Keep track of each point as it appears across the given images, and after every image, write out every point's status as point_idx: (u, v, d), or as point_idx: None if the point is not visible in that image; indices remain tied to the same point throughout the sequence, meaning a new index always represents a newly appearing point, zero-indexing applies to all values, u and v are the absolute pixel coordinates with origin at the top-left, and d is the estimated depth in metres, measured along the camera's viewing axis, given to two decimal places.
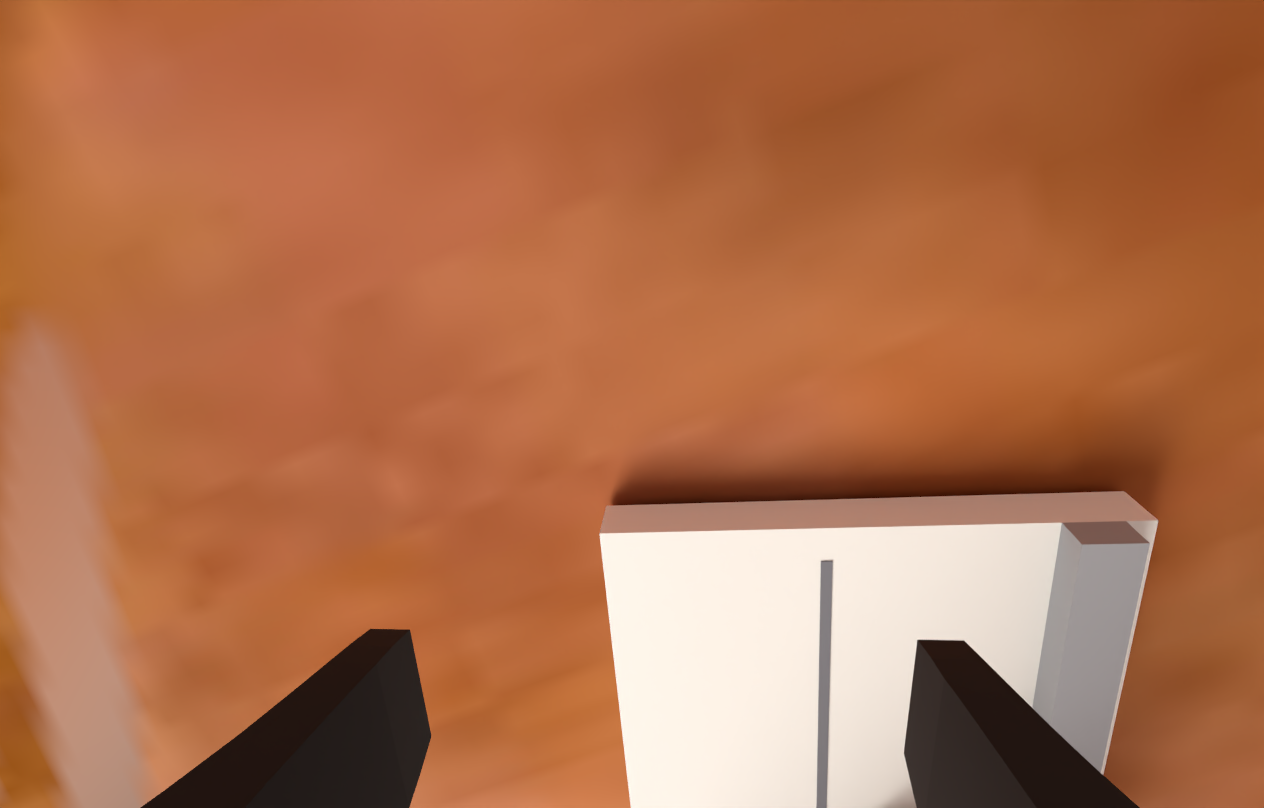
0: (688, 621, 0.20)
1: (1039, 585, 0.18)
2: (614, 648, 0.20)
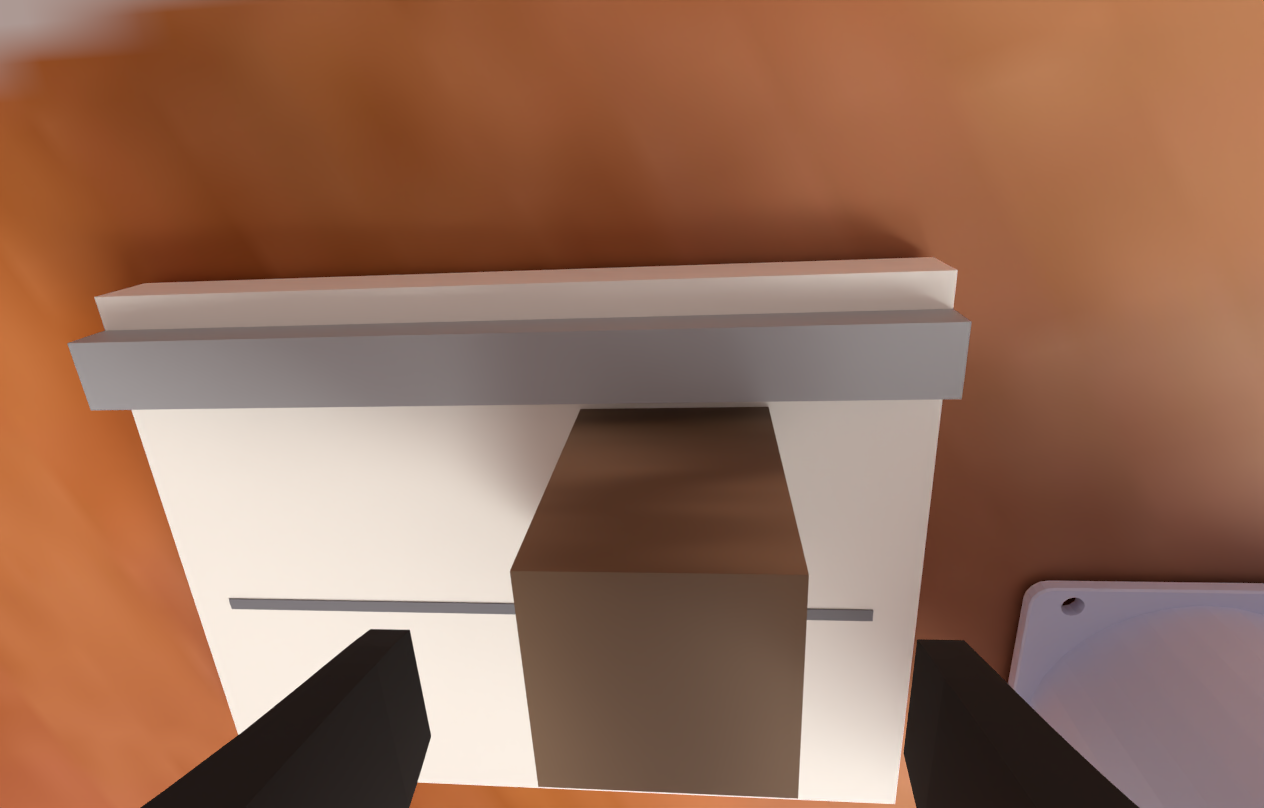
0: None
1: None
2: None
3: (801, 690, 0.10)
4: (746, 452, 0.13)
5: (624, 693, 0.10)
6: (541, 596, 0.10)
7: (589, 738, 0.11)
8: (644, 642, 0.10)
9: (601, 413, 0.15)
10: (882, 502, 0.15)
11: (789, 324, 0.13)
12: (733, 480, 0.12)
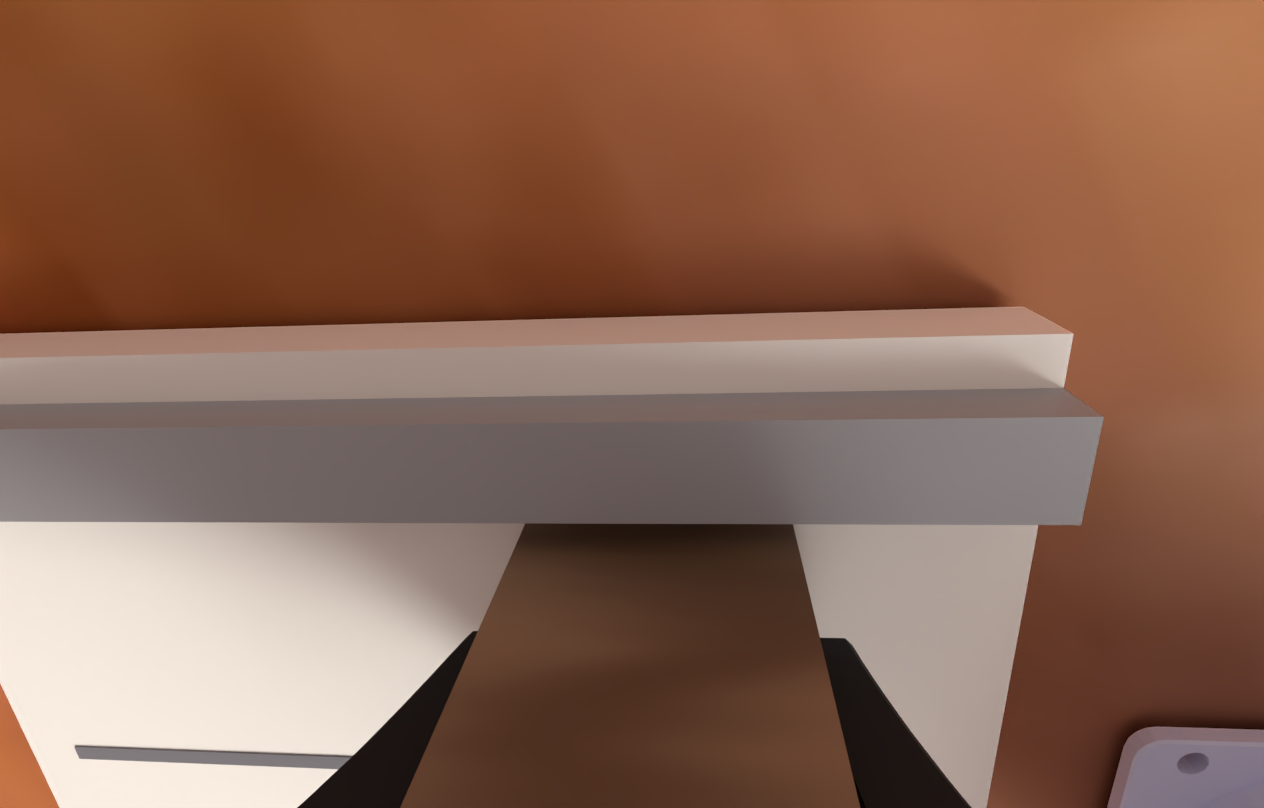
0: None
1: None
2: None
3: None
4: (765, 615, 0.08)
5: None
6: None
7: None
8: None
9: (556, 527, 0.10)
10: (948, 645, 0.11)
11: (827, 416, 0.09)
12: (747, 681, 0.07)
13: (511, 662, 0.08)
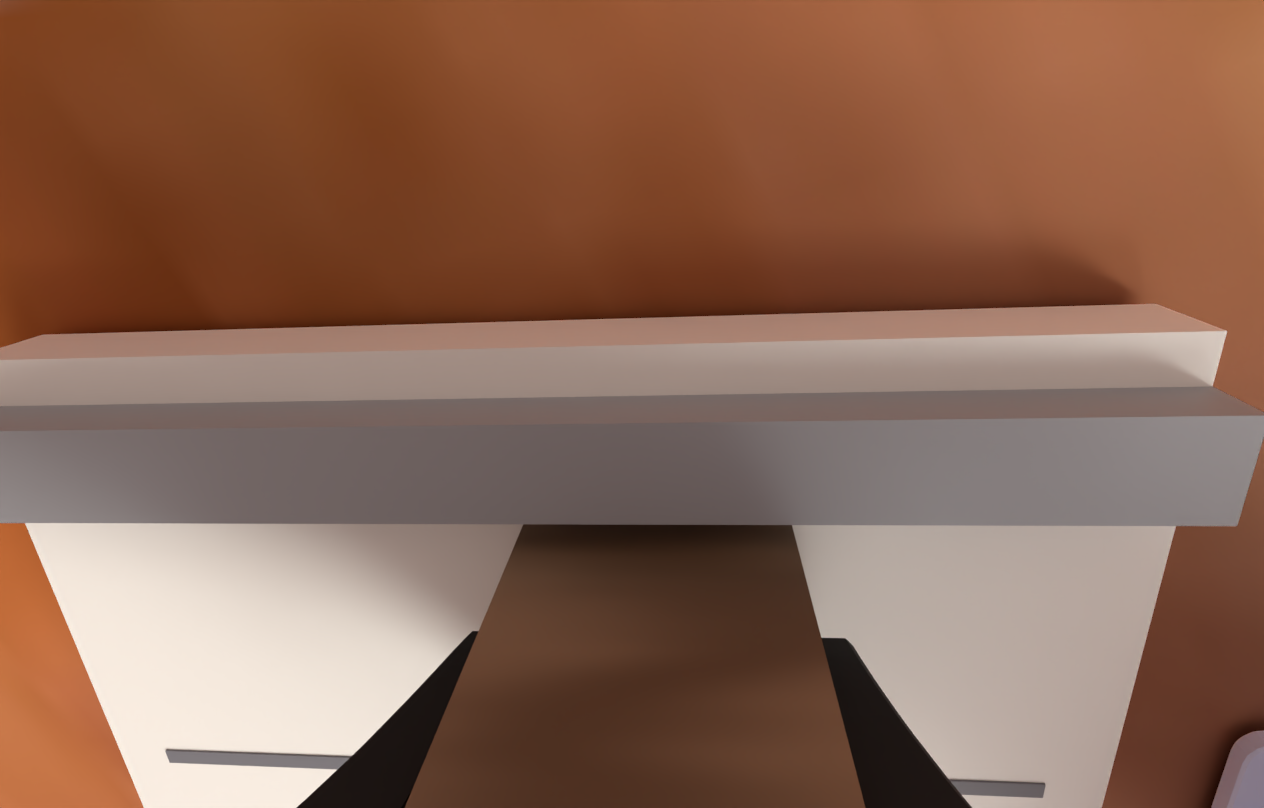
0: None
1: None
2: None
3: None
4: (766, 616, 0.08)
5: None
6: None
7: None
8: None
9: (554, 529, 0.10)
10: (1073, 648, 0.11)
11: (979, 415, 0.09)
12: (749, 683, 0.07)
13: (511, 666, 0.08)
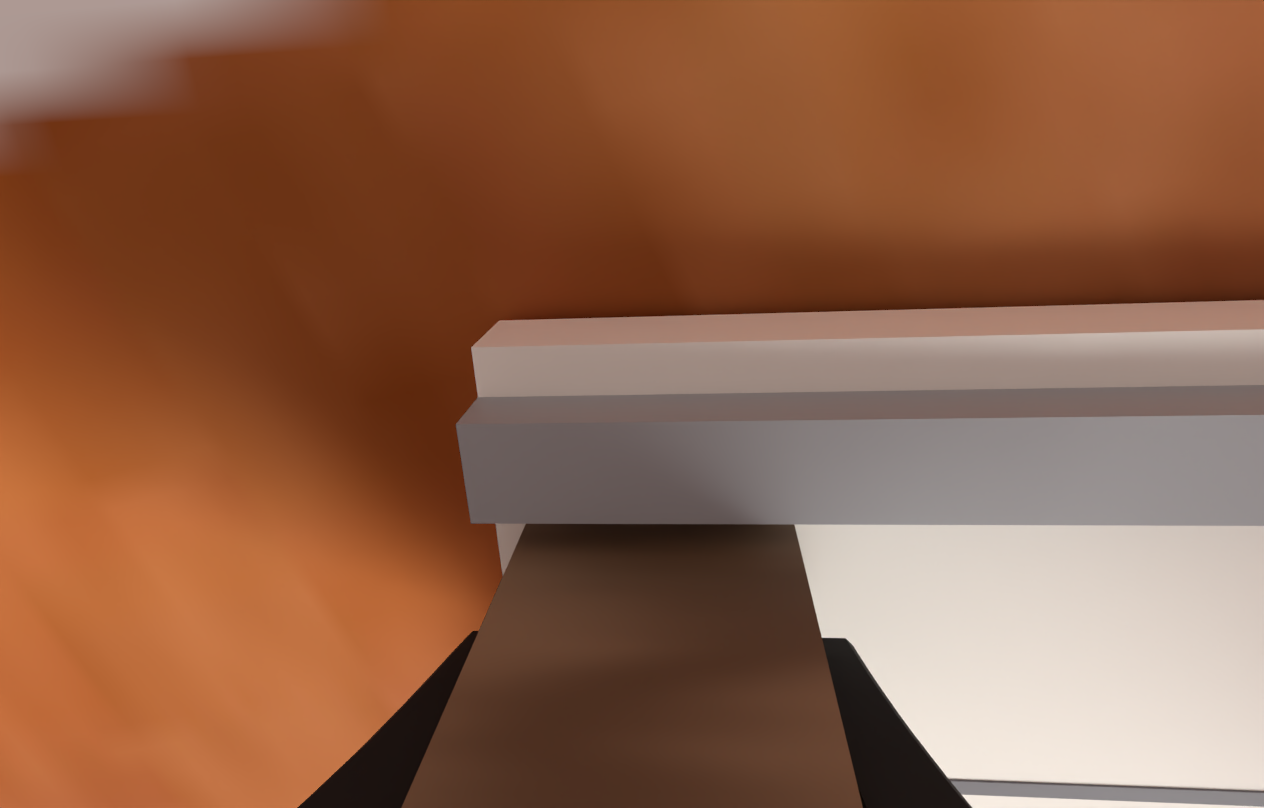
0: None
1: None
2: None
3: None
4: (766, 615, 0.08)
5: None
6: None
7: None
8: None
9: (557, 526, 0.10)
10: None
11: None
12: (748, 681, 0.07)
13: (512, 662, 0.08)
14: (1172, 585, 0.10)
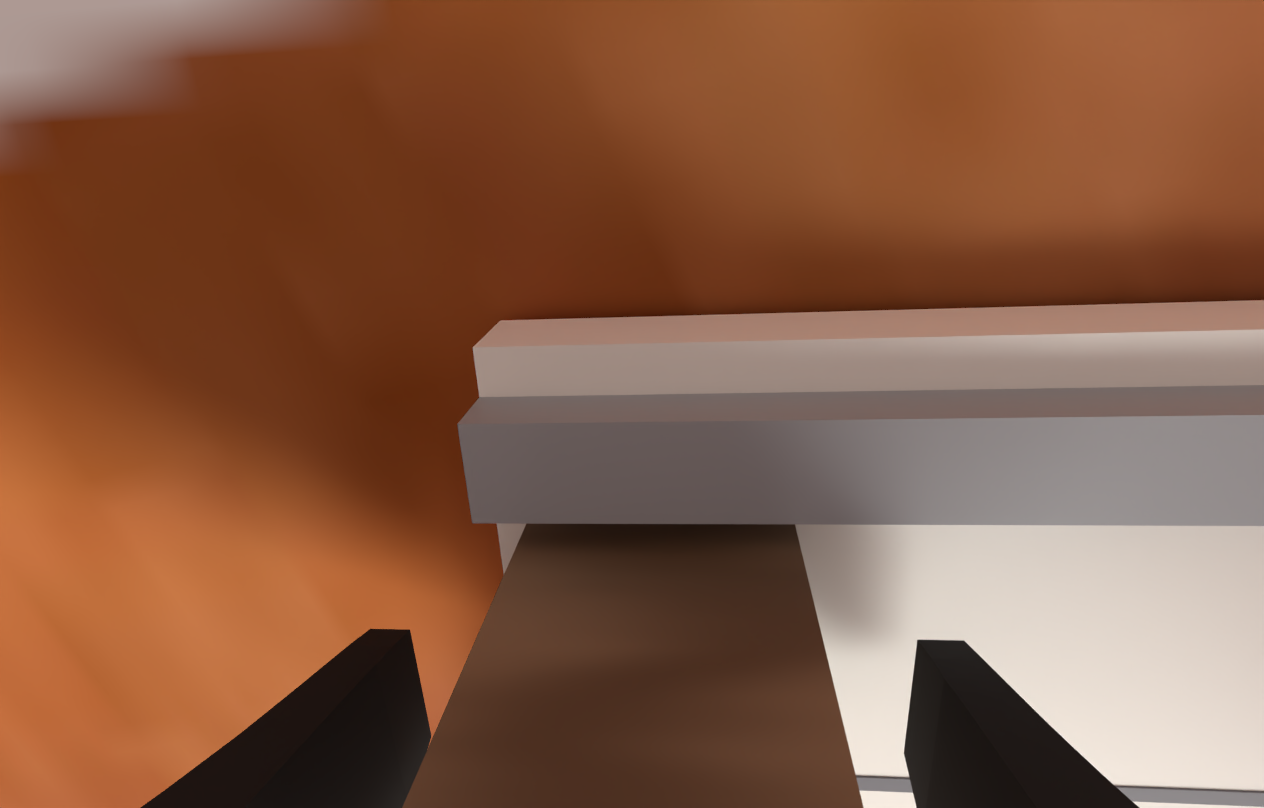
0: None
1: None
2: None
3: None
4: (767, 614, 0.08)
5: None
6: None
7: None
8: None
9: (557, 526, 0.10)
10: None
11: None
12: (749, 680, 0.07)
13: (513, 661, 0.08)
14: (1173, 585, 0.10)
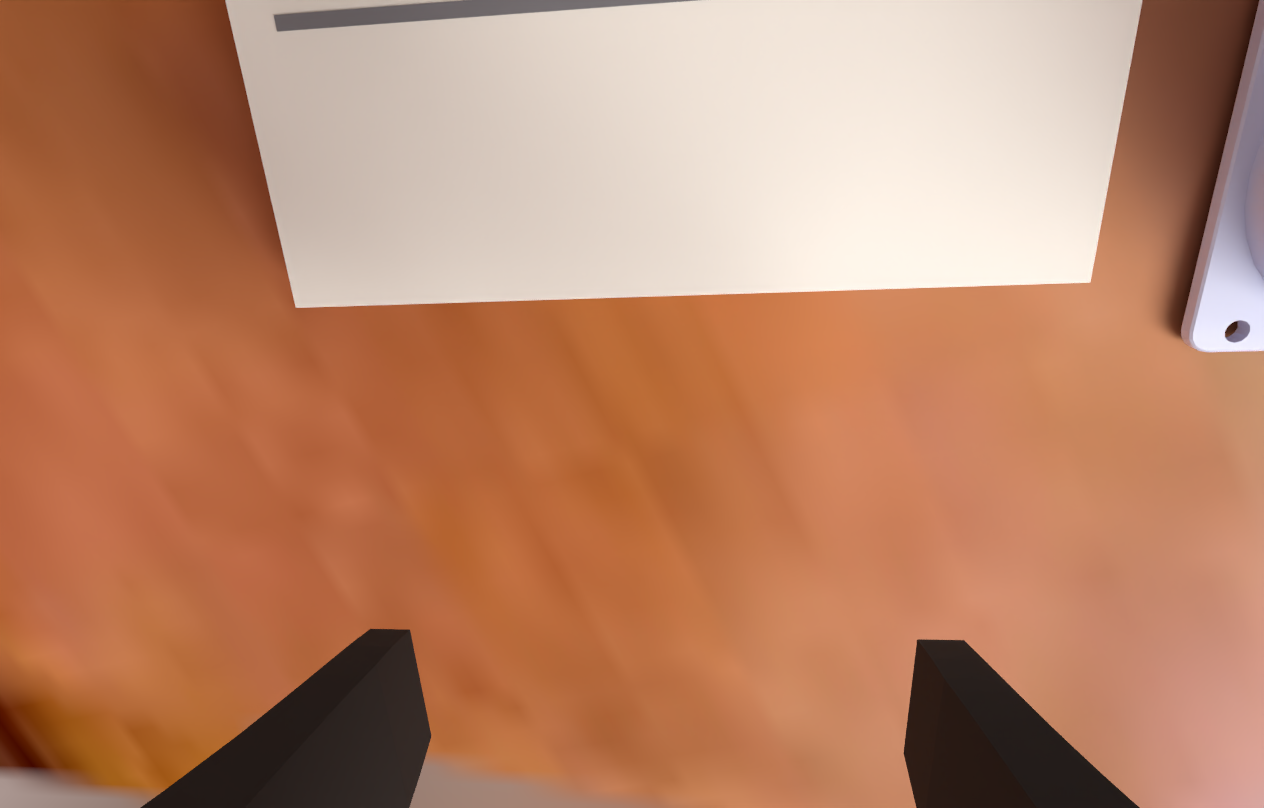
0: (396, 206, 0.16)
1: None
2: (451, 300, 0.16)
3: None
4: None
5: None
6: None
7: None
8: None
9: None
10: None
11: None
12: None
13: None
14: None
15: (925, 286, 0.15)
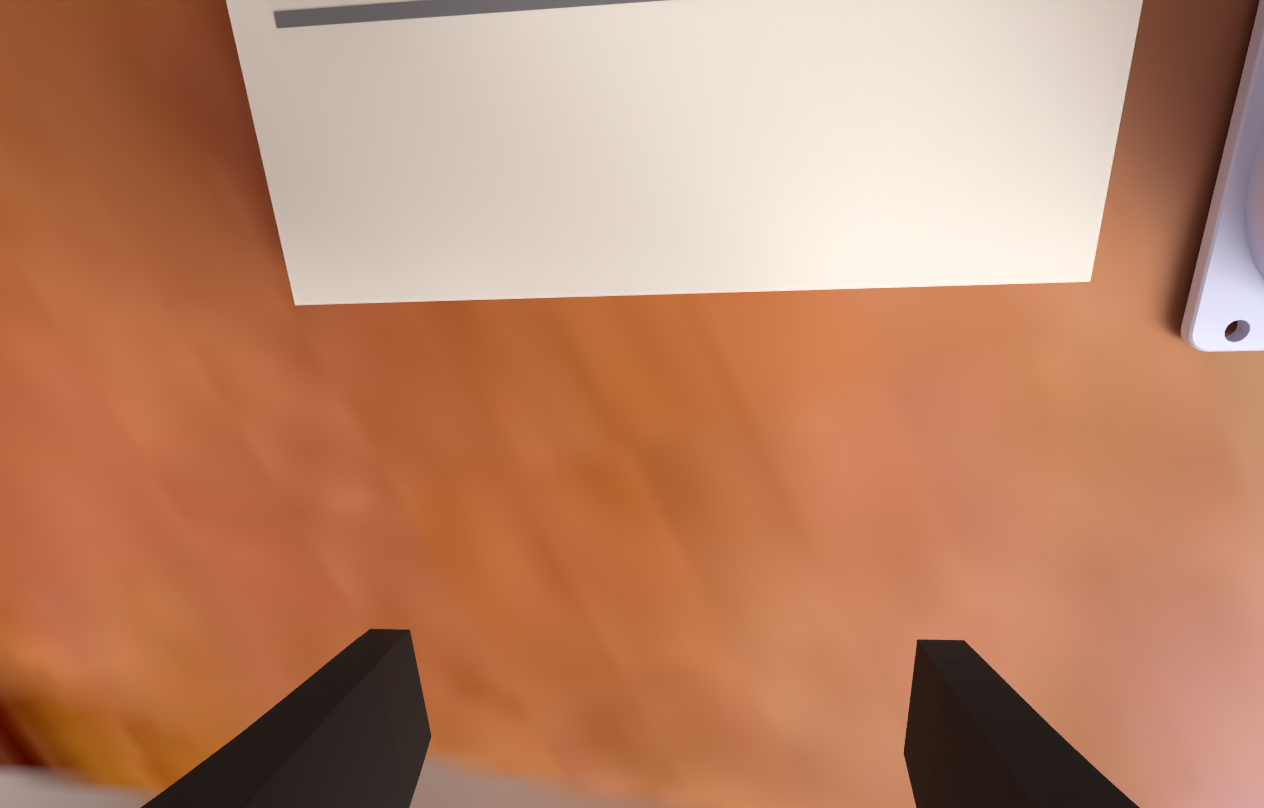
0: (396, 203, 0.16)
1: None
2: (451, 298, 0.16)
3: None
4: None
5: None
6: None
7: None
8: None
9: None
10: None
11: None
12: None
13: None
14: None
15: (925, 285, 0.15)
